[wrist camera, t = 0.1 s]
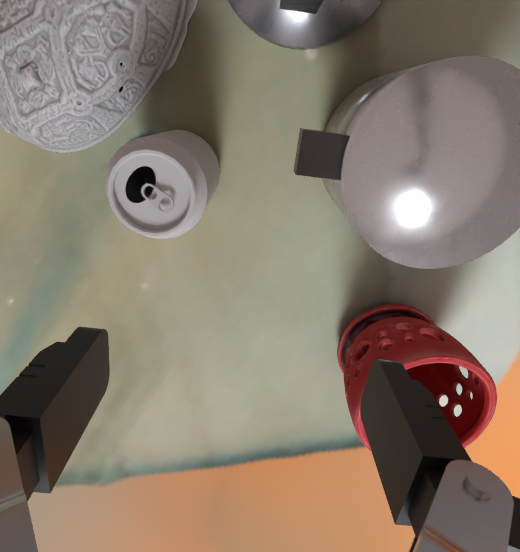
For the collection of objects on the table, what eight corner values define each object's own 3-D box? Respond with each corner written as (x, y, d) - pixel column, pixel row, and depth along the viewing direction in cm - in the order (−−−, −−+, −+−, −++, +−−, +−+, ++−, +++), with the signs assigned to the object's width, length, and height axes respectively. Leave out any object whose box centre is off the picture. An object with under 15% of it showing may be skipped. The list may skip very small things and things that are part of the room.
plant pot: (340, 394, 49) (363, 477, 38) (324, 305, 44) (345, 371, 33) (444, 376, 48) (499, 456, 37) (440, 282, 43) (503, 342, 32)
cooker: (300, 56, 34) (320, 32, 23) (521, 88, 35) (641, 79, 24) (278, 212, 39) (284, 252, 28) (468, 235, 40) (546, 283, 29)
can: (169, 111, 36) (128, 113, 25) (235, 161, 37) (225, 183, 26) (130, 178, 38) (77, 206, 27) (194, 221, 40) (169, 265, 29)
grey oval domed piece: (243, -49, 31) (227, -91, 25) (98, 194, 40) (59, 208, 34) (78, -204, 28) (14, -294, 22) (-36, 92, 37) (-104, 86, 31)
